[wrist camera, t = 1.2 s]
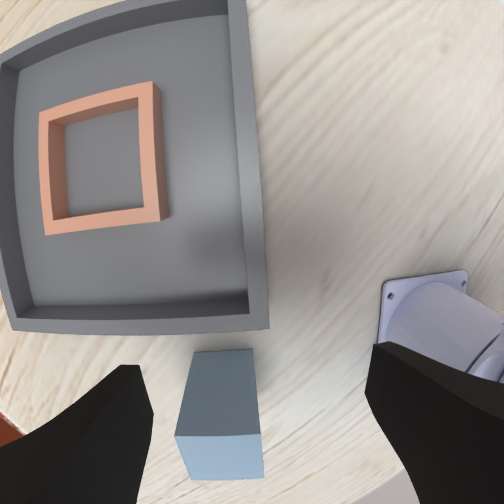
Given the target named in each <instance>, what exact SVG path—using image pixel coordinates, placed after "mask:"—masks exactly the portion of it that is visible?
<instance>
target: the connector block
mask: <svg viewBox="0 0 504 504" xmlns="http://www.w3.org/2000/svg"><path fill="white" fill-rule="evenodd" d="M174 436H175V439H176V442H177V445H178V448H179V450H180V453H181V456H182V458H183V461H184V463H185V466H186V468H187V471H188V473H189V476H190V478H191V480H243V479H259V478H264V466H263V455H262V444H261V432H260V422H259V412H258V401H257V391H256V380H255V370H254V359H253V349H243V350H229V351H211V352H194V354H193V358H192V362H191V366H190V370H189V374H188V378H187V383H186V387H185V391H184V395H183V400H182V404H181V408H180V413H179V417H178V422H177V426H176V431H175V435H174Z"/></svg>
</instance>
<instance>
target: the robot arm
mask: <svg viewBox="0 0 504 504" xmlns="http://www.w3.org/2000/svg"><path fill="white" fill-rule="evenodd" d="M462 281H463V283H462ZM467 281H468V272H467V271H465V270H459V271H453V272H446V273H440V274H433V275H427V276H420V277H413V278H406V279H398V280H391V281H387V282H386V283H385V284H384V286H383V293H382V306H381V317H380V326H379V335H378V343H377V344H373V350H372V356H371V362H370V367H369V373H368V378H367V383H366V388H365V396H366V398H367V401H368V403H369V406H370V408H371V410H372V413H373V415H374V417H375V419H376V420H377V422H378V424H379V426H380V427H381V429H382V430H383V432H384V434H385V435H386V437H387V439H388V440H389V442H390V444H391V445H392V447H393V448H394V450H395V452H396V453H397V455H398V457H399V458H400V460H401V461H402V463H403V465H404V467H405V469H406V471H407V472H408V475H409V477H410V479H411V482H412V484H413V486H414V489H415V491H416V494H417V496H418V499H419V502H420V504H504V316H502V315H501V314H499V313H497V312H496V311H494V310H492V309H491V308H489V307H487V306H485V305H484V304H482V303H480V302H478V301H477V300H475V299H473V298H471V297H470V296H468V295H466V288H467ZM461 283H462V284H461ZM389 293H392V294H391V296H390V297H389V298H388V294H389ZM153 416H154V413H153V410H152V407H151V404H150V400H149V397H148V394H147V391H146V387H145V384H144V380H143V377H142V373H141V369H140V366H139V365H120V366H118V367H117V368H116V369H115V370H113V371H112V372H111V373H110V374H108V375H107V376H106V377H105V378H104V379H103V380H101V381H100V382H99V383H98V384H97V385H96V386H94V387H93V388H92V389H91V390H90V391H88V392H87V393H86V394H85V395H84V396H82V397H81V398H80V399H79V400H77V401H76V402H75V403H73V404H72V405H71V406H69V407H68V408H67V409H65V410H64V411H63V412H61V413H60V414H59V415H57V416H56V417H55V418H53V419H52V420H50V421H49V422H47V423H46V424H44V425H43V426H41V427H39V428H38V429H36V430H34V431H32V432H31V433H29V434H27V435H25V436H23V437H22V438H19V439H17V440H15V441H13V442H11V443H8V444H6V445H4V446H2V447H0V504H136V503H137V497H138V492H139V488H140V483H141V479H142V475H143V471H144V467H145V463H146V458H147V454H148V450H149V446H150V442H151V435H152V426H153Z"/></svg>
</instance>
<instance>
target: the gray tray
mask: <svg viewBox="0 0 504 504" xmlns="http://www.w3.org/2000/svg"><path fill="white" fill-rule="evenodd" d="M0 289H1V293H2V297H3V301H4V304H5V308H6V311H7V315H8V318H9V321H10V324H11V327H12V330H15V331H26V332H40V333H56V334H77V335H181V334H204V333H222V332H237V331H250V330H262V329H270V325H269V307H268V289H267V272H266V256H265V240H264V224H263V209H262V194H261V180H260V166H259V152H258V139H257V125H256V112H255V100H254V87H253V75H252V63H251V51H250V40H249V29H248V18H247V7H246V0H125V1H122V2H118V3H115V4H112V5H108V6H105V7H102V8H99V9H96V10H93V11H90V12H88V13H85V14H82V15H79V16H77V17H74V18H72V19H69V20H67V21H64V22H62V23H60V24H57V25H55V26H53V27H51V28H49V29H46V30H44V31H42V32H40V33H38V34H36V35H34V36H32V37H30V38H28V39H26V40H24V41H22V42H21V43H19V44H17V45H15V46H13V47H12V48H10V49H8V50H7V51H5V52H3V53H1V54H0Z"/></svg>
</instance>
